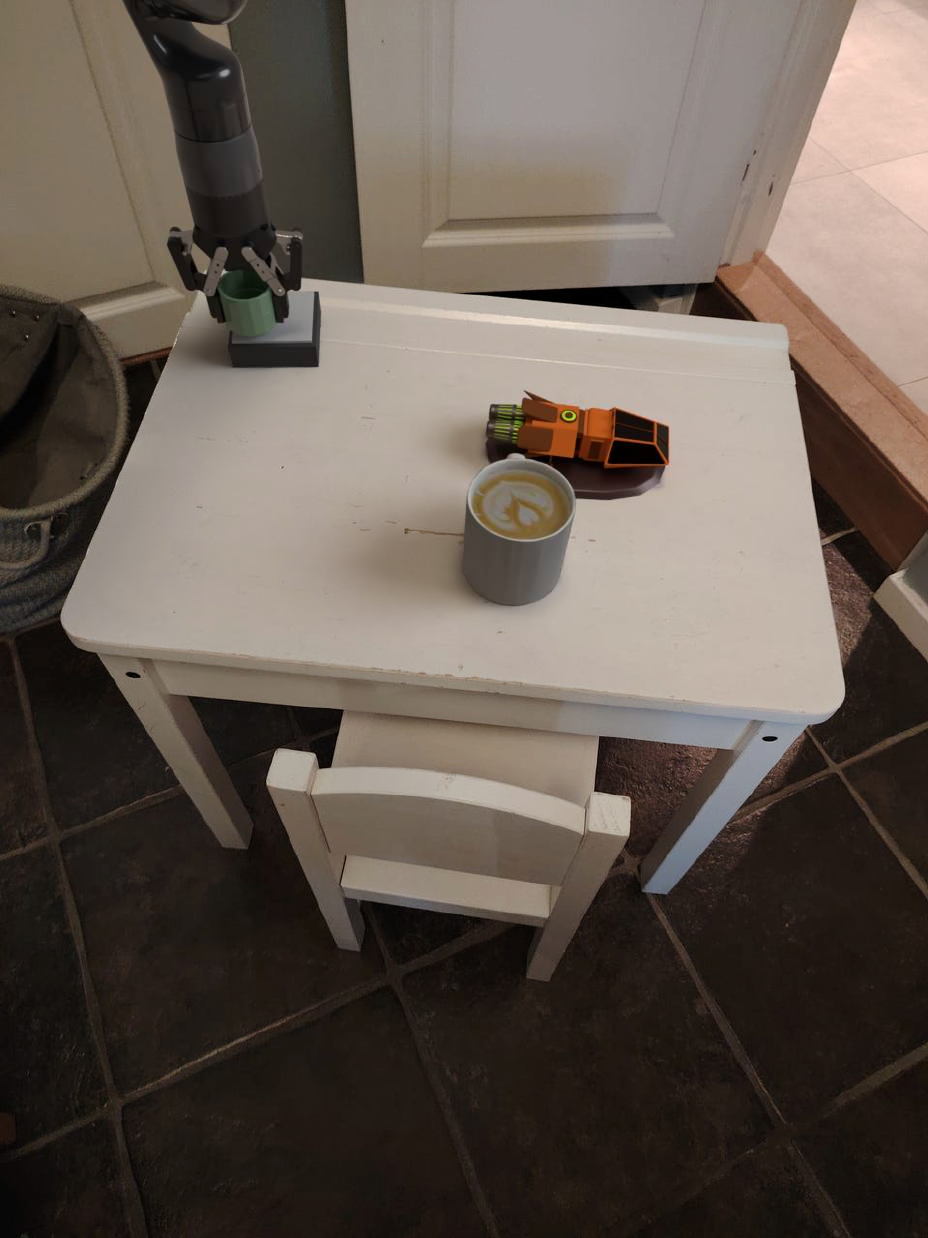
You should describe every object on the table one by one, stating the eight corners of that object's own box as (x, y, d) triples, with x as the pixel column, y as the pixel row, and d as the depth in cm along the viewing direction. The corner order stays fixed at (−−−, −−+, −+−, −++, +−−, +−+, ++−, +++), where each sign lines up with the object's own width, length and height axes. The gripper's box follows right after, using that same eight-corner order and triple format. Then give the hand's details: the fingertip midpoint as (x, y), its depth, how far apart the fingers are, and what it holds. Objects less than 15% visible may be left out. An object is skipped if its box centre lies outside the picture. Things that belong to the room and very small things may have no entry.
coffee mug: (553, 614, 81) (569, 551, 72) (453, 595, 81) (456, 530, 73) (571, 510, 88) (587, 441, 79) (478, 493, 89) (484, 424, 80)
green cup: (223, 339, 93) (214, 301, 89) (228, 305, 96) (219, 267, 92) (277, 339, 93) (270, 300, 89) (280, 305, 96) (273, 266, 92)
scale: (232, 367, 97) (226, 343, 95) (239, 312, 103) (234, 288, 100) (318, 366, 98) (315, 343, 95) (321, 312, 103) (318, 288, 101)
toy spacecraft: (665, 510, 88) (681, 467, 83) (478, 485, 89) (481, 441, 84) (665, 426, 95) (680, 382, 90) (491, 404, 96) (496, 359, 90)
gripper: (139, 193, 78) (183, 341, 92) (296, 193, 79) (315, 340, 93) (150, 149, 82) (191, 297, 96) (299, 150, 83) (317, 297, 97)
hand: (252, 318), depth 94 cm, fingers closed on green cup, 6 cm apart
